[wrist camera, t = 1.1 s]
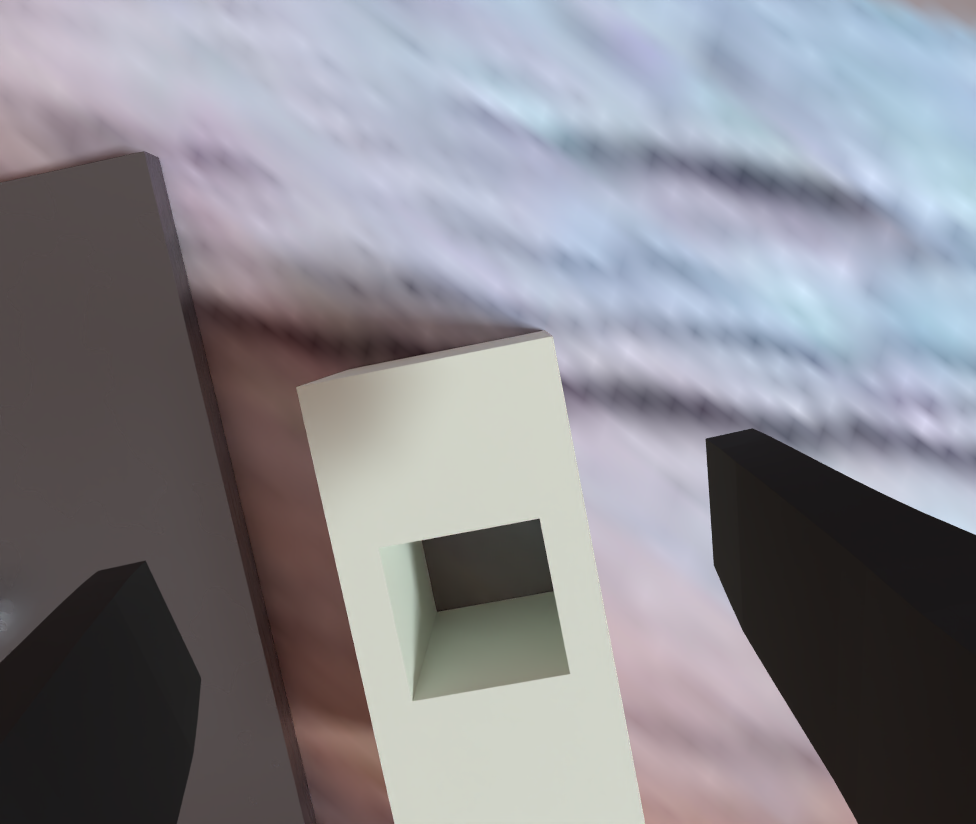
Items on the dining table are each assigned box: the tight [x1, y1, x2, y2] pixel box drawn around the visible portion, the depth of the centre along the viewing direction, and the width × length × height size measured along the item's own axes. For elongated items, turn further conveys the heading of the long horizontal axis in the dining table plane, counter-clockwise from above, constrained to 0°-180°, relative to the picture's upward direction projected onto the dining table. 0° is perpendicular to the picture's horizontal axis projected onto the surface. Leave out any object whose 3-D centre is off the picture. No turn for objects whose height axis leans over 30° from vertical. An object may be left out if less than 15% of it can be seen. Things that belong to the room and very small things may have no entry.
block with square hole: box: [296, 330, 645, 824], centre depth 19 cm, size 10×5×5 cm, turn 11°
